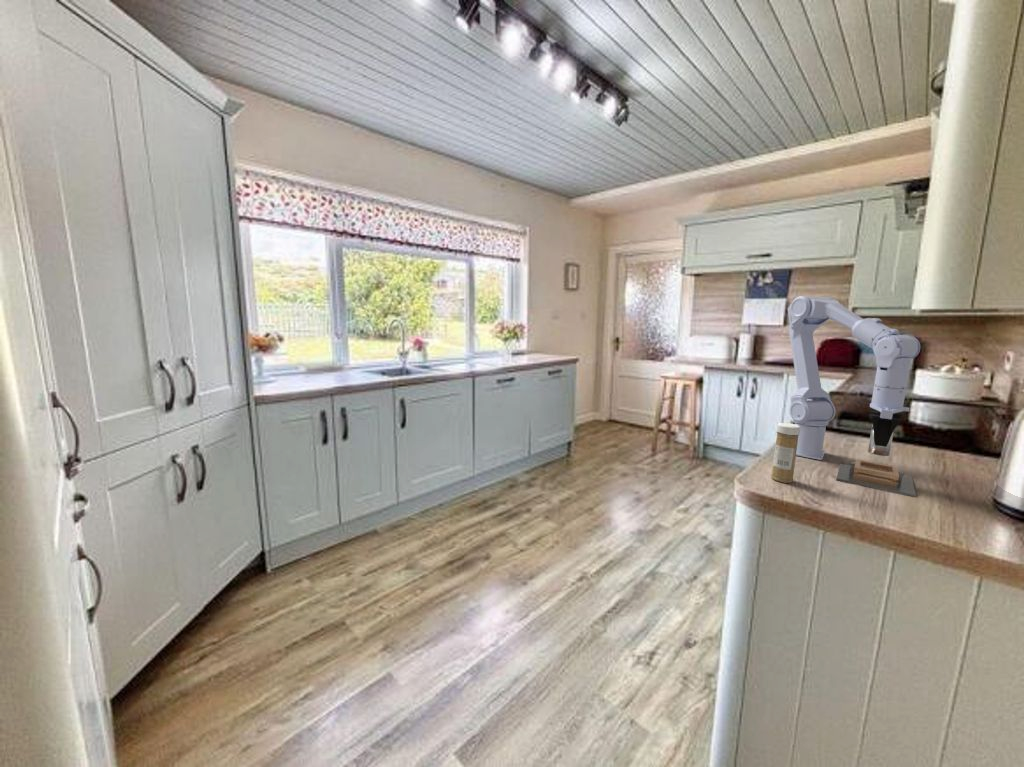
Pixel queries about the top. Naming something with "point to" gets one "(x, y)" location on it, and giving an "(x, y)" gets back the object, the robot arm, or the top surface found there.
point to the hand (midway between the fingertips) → (880, 443)
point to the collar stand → (876, 477)
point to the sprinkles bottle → (785, 452)
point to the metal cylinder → (879, 449)
